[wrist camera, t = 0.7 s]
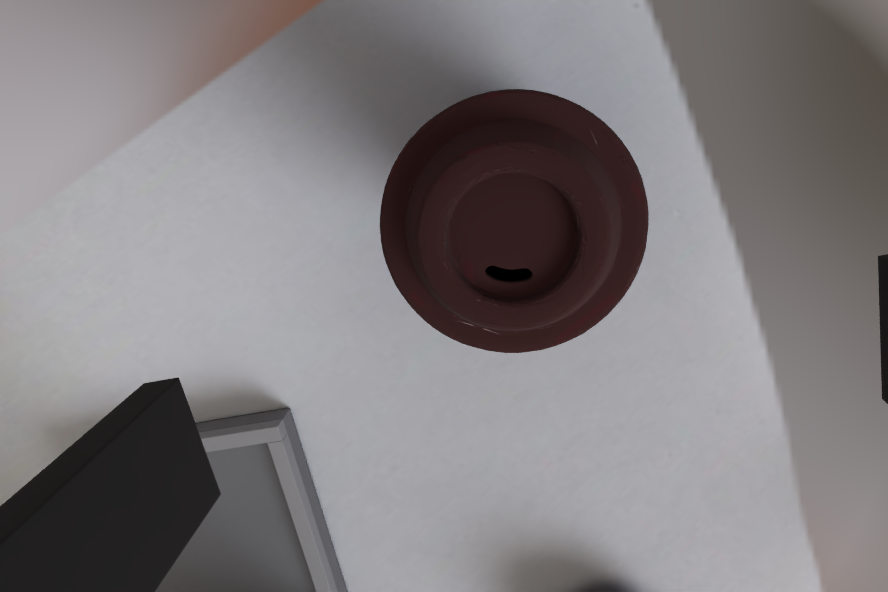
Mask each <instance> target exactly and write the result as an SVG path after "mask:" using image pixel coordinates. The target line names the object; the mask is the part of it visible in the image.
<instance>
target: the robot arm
mask: <svg viewBox="0 0 888 592" xmlns="http://www.w3.org/2000/svg"><path fill="white" fill-rule="evenodd" d="M878 270H879V306H880V340H881V341H880V342H881V375H882V376H881V377H882V399H883V400H884V401H885V402H886V403H887V404H888V254H887V255H882V256H878ZM220 495H221V492H220V489H219V487H218V484H217V481H216V479H215V476H214V473H213V470H212V468H211V465H210V462H209V459H208V457H207V454H206V451H205V448H204V446H203V443H202V440H201V438H200V435H199V432H198V429H197V427H196V424H195V421H194V418H193V416H192V413H191V410H190V407H189V405H188V402H187V399H186V397H185V394H184V391H183V388H182V386H181V383H180V380H179V378H173V379H167V380H161V381H156V382H150V383H144V384H143V385H142V386H140V387H139V388H138V389H137V390H136V391H135V392H133V393H132V394H131V395H130V396H129V397H128V398H126V399H125V400H124V401H123V402H122V403H121V404H119V405H118V406H117V407H116V408H115V409H114V410H112V411H111V412H110V413H109V414H108V415H107V416H105V417H104V418H103V419H102V420H101V421H100V422H98V423H97V424H96V425H95V426H94V427H93V428H91V429H90V430H89V431H88V432H87V433H86V434H84V435H83V436H82V437H81V438H80V439H79V440H77V441H76V442H75V443H74V444H73V445H72V446H70V447H69V448H68V449H67V450H66V451H65V452H63V453H62V454H61V455H60V456H59V457H58V458H56V459H55V460H54V461H53V462H52V463H51V464H49V465H48V466H47V467H46V468H45V469H44V470H42V471H41V472H40V473H39V474H38V475H37V476H35V477H34V478H33V479H32V480H31V481H30V482H28V483H27V484H26V485H25V486H24V487H23V488H21V489H20V490H19V491H18V492H17V493H15V494H14V495H13V496H12V497H11V498H10V499H8V500H7V501H6V502H5V503H4V504H3V505H1V506H0V592H155V591H156V589H157V588H158V586H159V585H160V583H161V582H162V580H163V579H164V578H165V576H166V575H167V573H168V572H169V570H170V569H171V567H172V566H173V564H174V563H175V561H176V560H177V558H178V557H179V555H180V554H181V552H182V551H183V550H184V548H185V547H186V545H187V544H188V542H189V541H190V539H191V538H192V536H193V535H194V533H195V532H196V530H197V529H198V527H199V526H200V524H201V523H202V522H203V520H204V519H205V517H206V516H207V514H208V513H209V511H210V510H211V508H212V507H213V505H214V504H215V502H216V501H217V499H218V498H219V496H220Z"/></svg>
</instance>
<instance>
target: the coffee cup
mask: <svg viewBox="0 0 888 592" xmlns="http://www.w3.org/2000/svg"><path fill="white" fill-rule="evenodd" d="M647 232H648V204H647V198H646V193H645V189H644V185H643V181H642V178H641V175H640V173H639V170H638V167H637V165H636V163H635V162H634V160H633V158H632V156H631V154H630V152H629V151H628V149H627V148H626V146H625V145H624V144H623V142H622V141H621V140H620V138H619V137H618V136H617V135H616V134H615V132H614V131H613V130H612V129H611V128H609V127H608V126H607V125H606V124H605V123H604V122H603V121H602V120H601V119H599V118H598V117H597V116H595V115H594V114H593V113H591V112H590V111H588V110H586V109H585V108H583V107H581V106H580V105H578V104H575V103H573V102H571V101H569V100H567V99H564V98H561V97H558V96H556V95H552V94H549V93H544V92H539V91H534V90H523V89H506V90H498V91H490V92H486V93H483V94H479V95H475V96H472V97H470V98H467V99H465V100H462V101H460V102H458V103H456V104H454V105H452V106H450V107H448V108H447V109H445V110H443V111H442V112H440V113H439V114H437V115H436V116H434V117H433V118H432V119H431V120H429V121H428V122H427V123H426V124H424V125H423V126H422V127H421V128H420V129H419V130H418V131H417V132H416V134H415V135H414V136H413V137H412V138H411V139H410V140H409V141H408V143H407V144H406V145H405V147H404V148H403V150H402V151H401V153H400V154H399V156H398V158H397V160H396V161H395V163H394V165H393V167H392V169H391V172H390V174H389V176H388V179H387V182H386V185H385V189H384V193H383V198H382V204H381V214H380V233H381V243H382V249H383V253H384V257H385V261H386V264H387V266H388V269H389V271H390V273H391V276H392V278H393V280H394V282H395V285H396V286H397V288H398V289H399V291H400V292H401V294H402V295H403V297H404V298H405V299H406V301H407V302H408V304H409V305H410V306H411V307H412V308H413V309H414V310H415V311H416V313H417V314H419V315H420V316H421V317H422V318H423V319H424V320H425V321H426V322H427V323H428V324H430V325H431V326H432V327H433V328H435V329H436V330H438V331H439V332H441V333H443V334H444V335H446V336H448V337H450V338H452V339H454V340H456V341H458V342H460V343H463V344H466V345H469V346H472V347H476V348H480V349H484V350H488V351H495V352H503V353H521V352H530V351H536V350H542V349H546V348H549V347H553V346H556V345H559V344H562V343H564V342H567V341H569V340H571V339H573V338H575V337H577V336H579V335H581V334H583V333H585V332H586V331H587V330H589V329H590V328H592V327H593V326H594V325H596V324H597V323H598V322H599V321H601V320H602V319H603V318H604V317H606V316H607V315H608V314H609V313H610V312H611V311H612V309H613V308H614V307H615V306H616V305H617V304H618V303H619V301H620V300H621V299H622V298H623V297H624V295H625V293H626V292H627V290H628V289H629V287H630V286H631V284H632V282H633V280H634V278H635V276H636V274H637V272H638V270H639V267H640V264H641V262H642V259H643V255H644V252H645V248H646V241H647Z"/></svg>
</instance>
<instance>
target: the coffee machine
mask: <svg viewBox="0 0 888 592" xmlns="http://www.w3.org/2000/svg"><path fill="white" fill-rule="evenodd" d="M195 424H196V427H197V429H198V432H199V435H200V438H201V440H202V443H203V446H204V448H205V451H206V454H207V457H208V459H209V462H210V465H211V468H212V470H213V473H214V476H215V479H216V481H217V484H218V487H219V489H220V492H221V495H220V496H219V498H218V499H217V501H216V502H215V504H214V505H213V507H212V508H211V510H210V511H209V513H208V514H207V516H206V517H205V519H204V520H203V522H202V523H201V524H200V526H199V527H198V529H197V530H196V532H195V533H194V535H193V536H192V538H191V539H190V541H189V542H188V544H187V545H186V547H185V548H184V550H183V551H182V552H181V554H180V555H179V557H178V558H177V560H176V561H175V563H174V564H173V566H172V567H171V569H170V570H169V572H168V573H167V575H166V576H165V578H164V579H163V580H162V582H161V583H160V585H159V586H158V588H157V589H156V591H155V592H347V589H346V586H345V582H344V579H343V576H342V573H341V570H340V567H339V563H338V560H337V557H336V554H335V551H334V547H333V544H332V541H331V538H330V535H329V531H328V528H327V525H326V522H325V519H324V516H323V512H322V509H321V506H320V503H319V500H318V496H317V493H316V490H315V487H314V484H313V480H312V477H311V474H310V471H309V468H308V465H307V461H306V458H305V455H304V452H303V449H302V445H301V442H300V439H299V436H298V433H297V429H296V426H295V423H294V420H293V417H292V414H291V410H290V408H287V409H281V410H275V411H269V412H262V413H256V414H250V415H244V416H238V417H232V418H226V419H220V420H213V421H207V422H201V423H195Z"/></svg>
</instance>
